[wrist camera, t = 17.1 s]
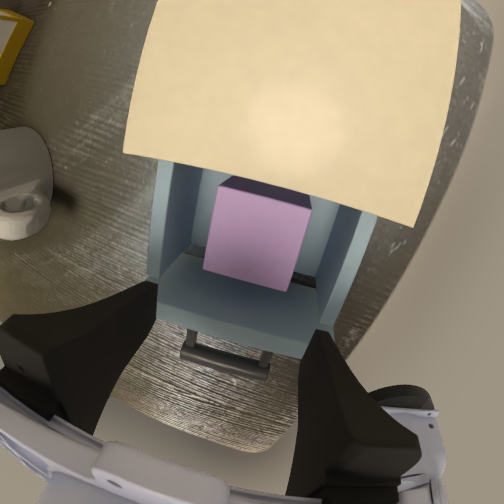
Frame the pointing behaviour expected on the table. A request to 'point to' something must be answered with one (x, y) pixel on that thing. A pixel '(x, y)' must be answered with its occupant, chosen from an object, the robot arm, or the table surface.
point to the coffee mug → (24, 183)
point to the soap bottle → (11, 40)
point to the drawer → (241, 292)
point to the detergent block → (256, 232)
